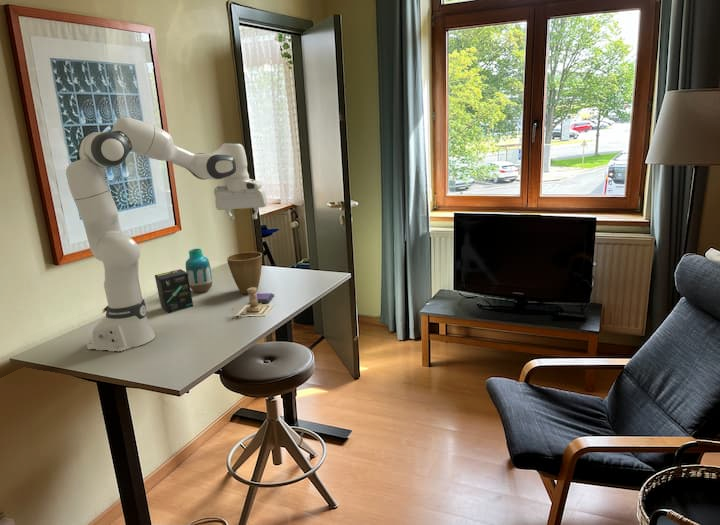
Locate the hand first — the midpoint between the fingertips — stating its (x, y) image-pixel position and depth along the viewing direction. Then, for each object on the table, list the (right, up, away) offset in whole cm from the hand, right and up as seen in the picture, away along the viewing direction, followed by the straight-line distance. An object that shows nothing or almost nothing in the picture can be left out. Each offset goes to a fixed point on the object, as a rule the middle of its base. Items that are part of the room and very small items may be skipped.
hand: (243, 219), depth 207 cm
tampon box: (-29, -36, +9) cm, 47 cm away
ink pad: (+6, -33, +9) cm, 34 cm away
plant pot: (-2, -30, +23) cm, 37 cm away
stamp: (+5, -36, -3) cm, 36 cm away
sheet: (+5, -36, -3) cm, 36 cm away
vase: (-25, -30, +28) cm, 48 cm away
